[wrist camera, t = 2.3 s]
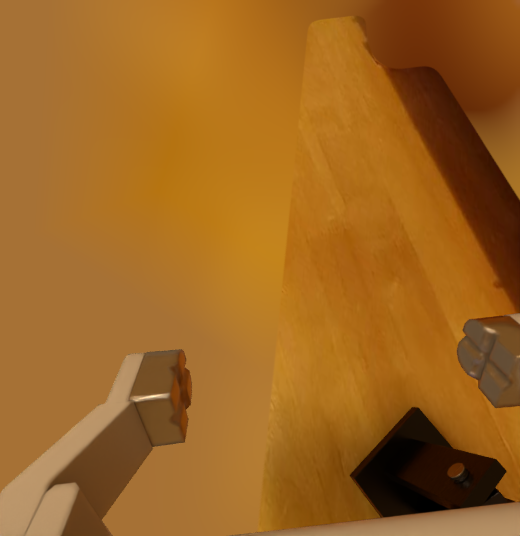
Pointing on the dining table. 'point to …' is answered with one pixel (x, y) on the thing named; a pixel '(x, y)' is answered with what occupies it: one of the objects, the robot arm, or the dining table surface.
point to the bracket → (424, 472)
